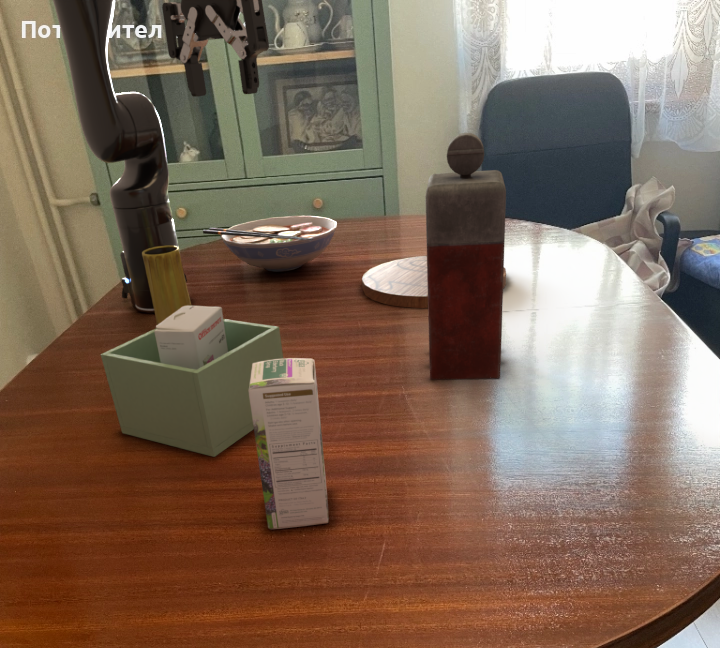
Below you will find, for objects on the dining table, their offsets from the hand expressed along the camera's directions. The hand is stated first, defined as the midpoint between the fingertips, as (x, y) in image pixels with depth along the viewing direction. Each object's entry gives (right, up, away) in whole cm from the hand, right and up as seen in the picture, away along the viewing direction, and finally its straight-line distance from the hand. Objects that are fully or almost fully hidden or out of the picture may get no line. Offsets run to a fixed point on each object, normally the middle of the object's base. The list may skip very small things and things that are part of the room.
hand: (224, 94), depth 93 cm
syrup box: (+12, -52, -23) cm, 59 cm away
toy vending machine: (+31, -34, +5) cm, 46 cm away
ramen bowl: (+2, -7, +52) cm, 53 cm away
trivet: (+30, -15, +35) cm, 49 cm away
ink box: (-1, -41, -5) cm, 41 cm away
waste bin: (-1, -42, -4) cm, 42 cm away
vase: (-10, -29, +18) cm, 35 cm away
